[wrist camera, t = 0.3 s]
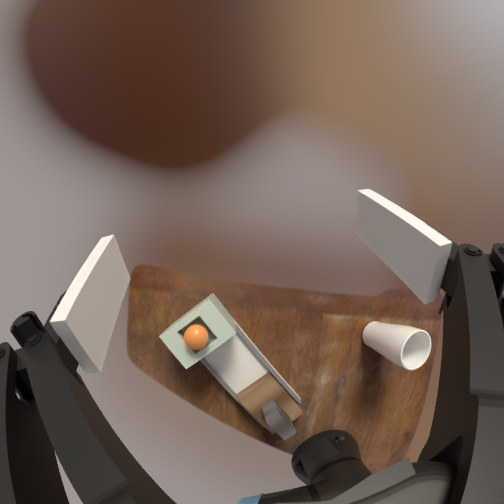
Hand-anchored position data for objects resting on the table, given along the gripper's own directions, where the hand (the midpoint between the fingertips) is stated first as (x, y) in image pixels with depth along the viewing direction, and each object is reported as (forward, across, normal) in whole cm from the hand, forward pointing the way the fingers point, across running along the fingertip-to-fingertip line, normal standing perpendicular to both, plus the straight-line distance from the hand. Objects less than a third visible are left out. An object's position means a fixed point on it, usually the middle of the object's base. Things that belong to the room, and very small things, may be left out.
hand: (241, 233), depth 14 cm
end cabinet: (+24, +8, +26) cm, 36 cm away
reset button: (+15, +7, +21) cm, 27 cm away
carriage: (+13, -1, +40) cm, 42 cm away
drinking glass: (+19, -24, +36) cm, 47 cm away
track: (+18, +2, +36) cm, 40 cm away
